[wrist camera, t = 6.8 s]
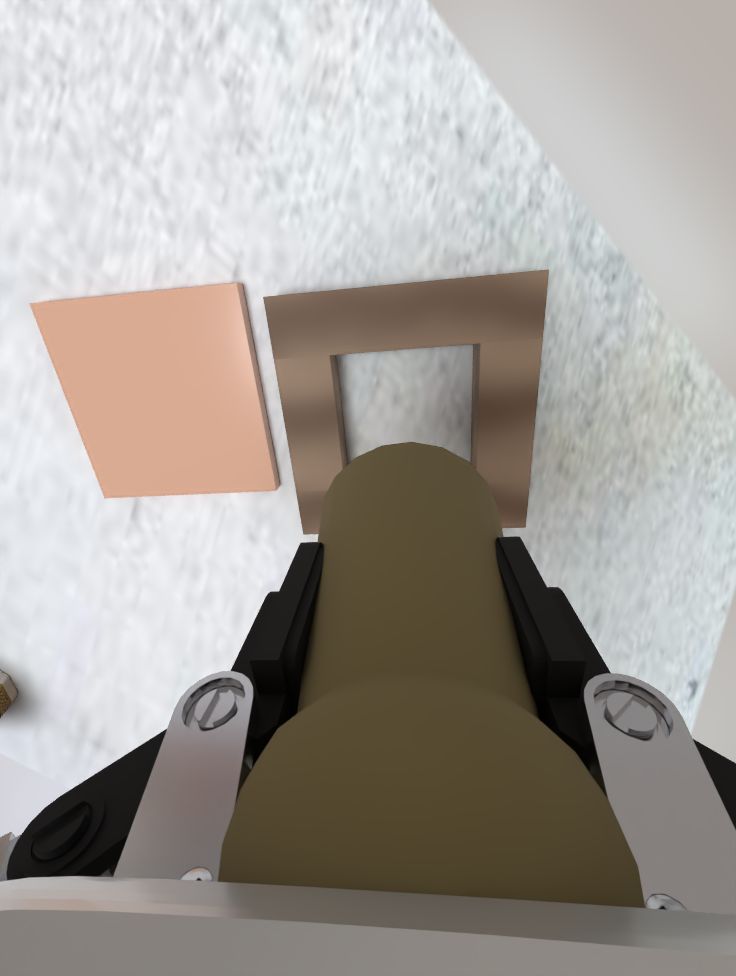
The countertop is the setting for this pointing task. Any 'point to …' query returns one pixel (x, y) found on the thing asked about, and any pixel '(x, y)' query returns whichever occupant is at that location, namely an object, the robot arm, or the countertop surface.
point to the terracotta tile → (164, 390)
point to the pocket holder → (408, 325)
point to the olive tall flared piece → (421, 717)
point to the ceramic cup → (6, 692)
